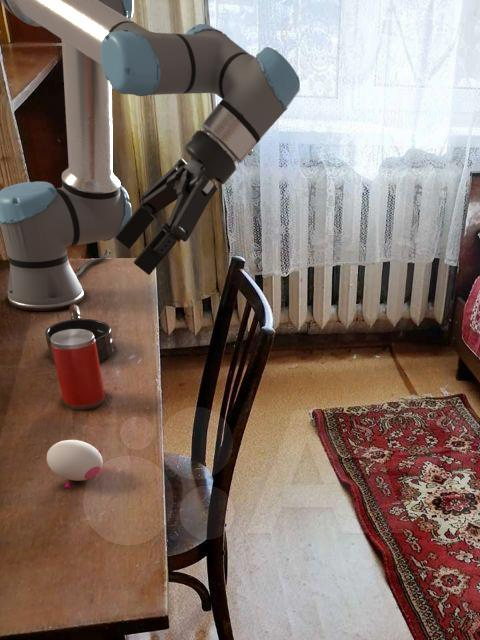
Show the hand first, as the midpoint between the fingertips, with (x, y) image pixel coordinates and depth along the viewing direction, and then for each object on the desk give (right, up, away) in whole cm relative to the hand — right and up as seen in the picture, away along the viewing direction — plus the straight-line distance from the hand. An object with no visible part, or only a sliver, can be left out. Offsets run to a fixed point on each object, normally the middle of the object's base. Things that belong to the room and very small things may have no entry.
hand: (131, 255), depth 102 cm
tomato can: (-11, -21, +9) cm, 26 cm away
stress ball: (-4, -34, -8) cm, 35 cm away
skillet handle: (-21, -3, +29) cm, 36 cm away
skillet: (-18, -10, +24) cm, 31 cm away
